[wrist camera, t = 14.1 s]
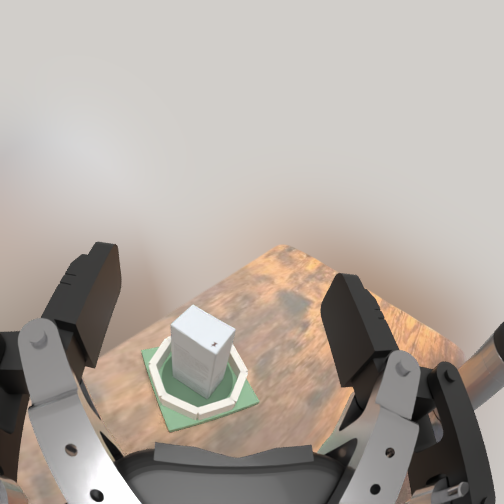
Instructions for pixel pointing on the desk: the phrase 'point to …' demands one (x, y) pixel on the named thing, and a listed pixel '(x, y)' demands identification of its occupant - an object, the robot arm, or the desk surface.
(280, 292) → the desk surface
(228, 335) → the skincare box
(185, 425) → the octagonal rimmed tray
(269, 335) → the desk surface
